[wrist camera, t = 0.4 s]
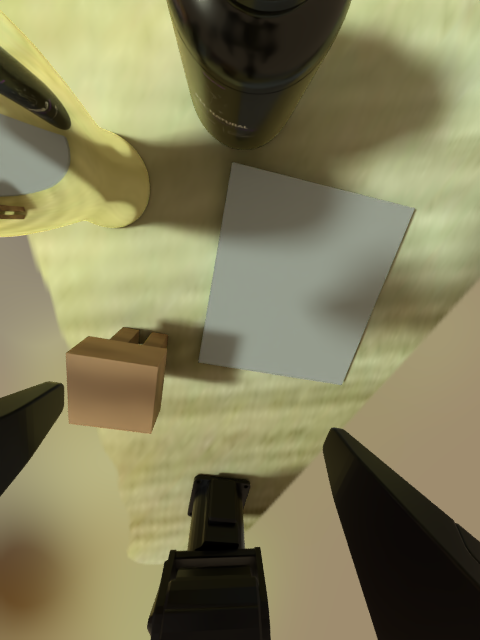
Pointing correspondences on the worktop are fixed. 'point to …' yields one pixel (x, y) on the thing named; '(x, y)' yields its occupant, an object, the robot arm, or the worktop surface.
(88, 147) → the beer glass
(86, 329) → the worktop surface
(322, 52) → the supplement bottle
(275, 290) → the rubber mat
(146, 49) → the worktop surface
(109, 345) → the walnut stool
